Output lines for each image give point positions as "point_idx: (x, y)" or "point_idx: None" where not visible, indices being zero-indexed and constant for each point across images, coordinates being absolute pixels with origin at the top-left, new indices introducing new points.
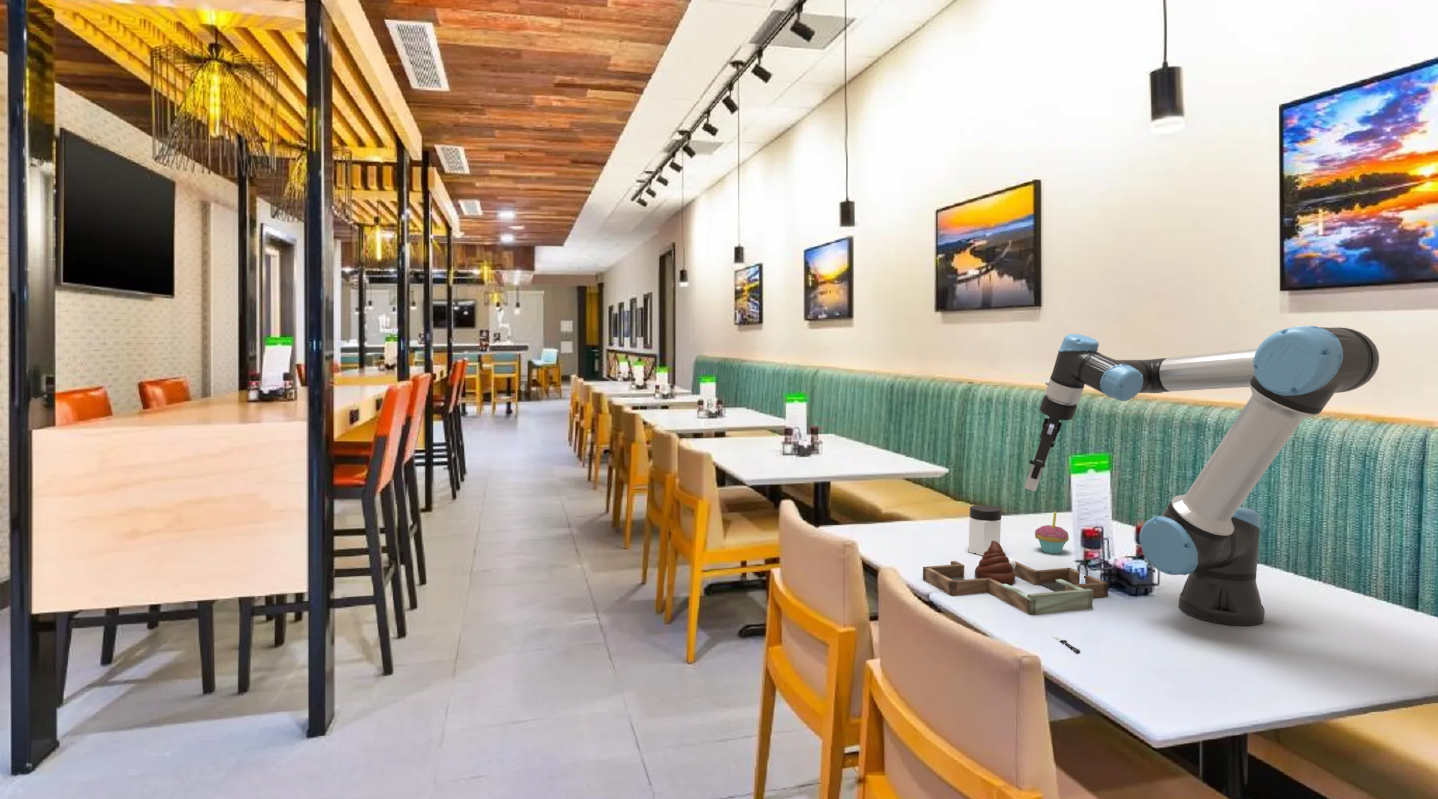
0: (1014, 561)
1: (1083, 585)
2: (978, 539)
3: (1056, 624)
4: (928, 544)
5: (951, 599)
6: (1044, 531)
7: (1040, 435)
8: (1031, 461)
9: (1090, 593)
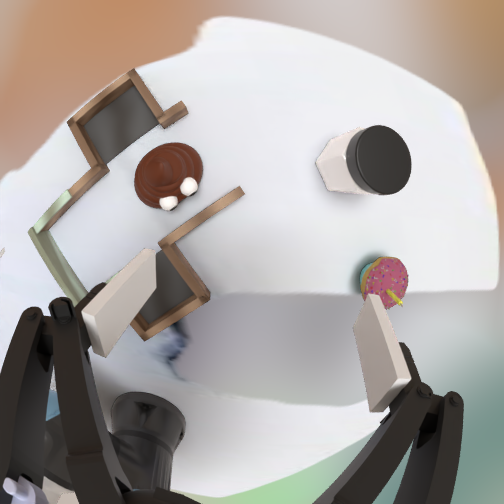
0: (164, 208)
1: None
2: (331, 150)
3: (28, 255)
4: (355, 84)
5: (63, 128)
6: (378, 274)
7: (66, 462)
8: (51, 309)
9: None
